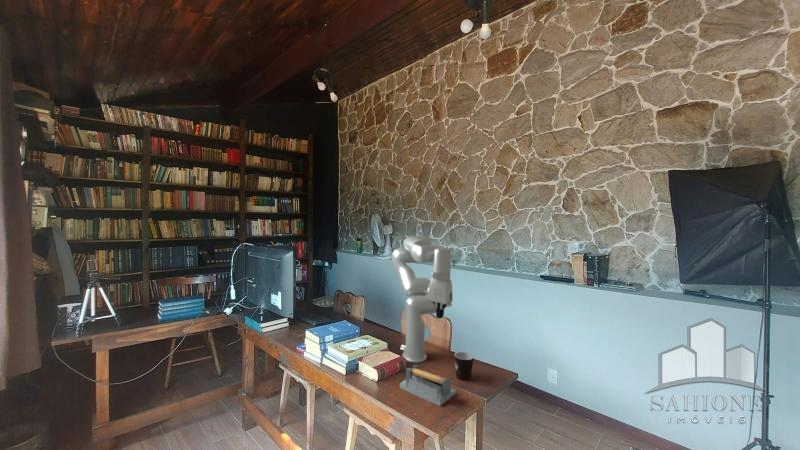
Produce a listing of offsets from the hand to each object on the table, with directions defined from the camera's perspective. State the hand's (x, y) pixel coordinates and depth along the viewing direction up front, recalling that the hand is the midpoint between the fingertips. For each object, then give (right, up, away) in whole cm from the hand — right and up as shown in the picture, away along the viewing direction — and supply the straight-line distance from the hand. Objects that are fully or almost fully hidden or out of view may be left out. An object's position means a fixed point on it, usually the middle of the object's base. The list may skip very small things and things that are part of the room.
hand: (439, 317), depth 146 cm
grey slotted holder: (-6, -29, -7) cm, 30 cm away
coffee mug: (+12, -29, +7) cm, 32 cm away
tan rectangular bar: (-6, -23, -7) cm, 25 cm away
